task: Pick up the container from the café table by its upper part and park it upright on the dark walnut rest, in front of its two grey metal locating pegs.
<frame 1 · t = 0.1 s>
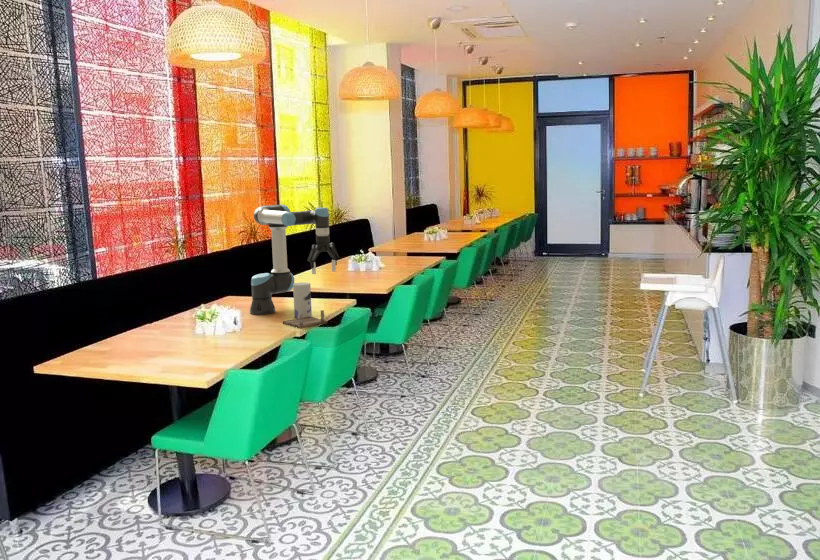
hand: (324, 272, 414), 28 cm above the table, fingers open, 13 cm apart
container: (303, 317, 431), on the table
rest: (304, 323, 413), on the table
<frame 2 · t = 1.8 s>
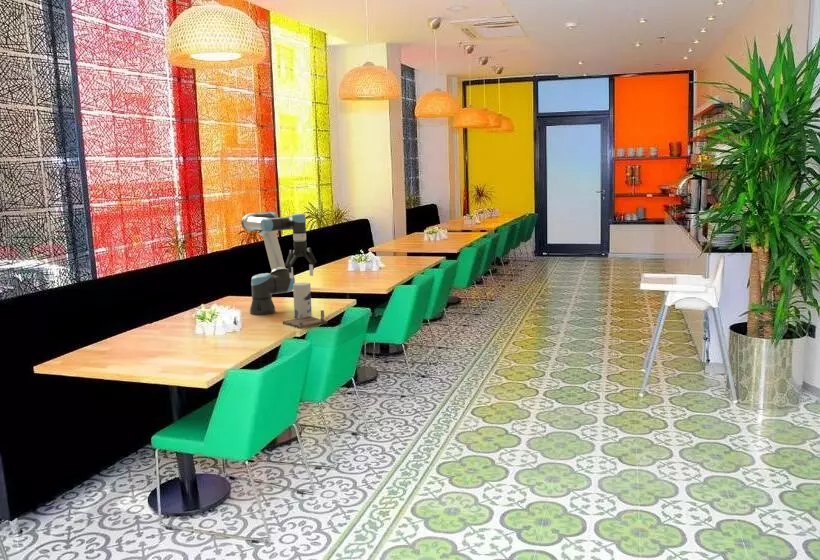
hand: (301, 276, 427), 24 cm above the table, fingers open, 13 cm apart
nothing on the table moved.
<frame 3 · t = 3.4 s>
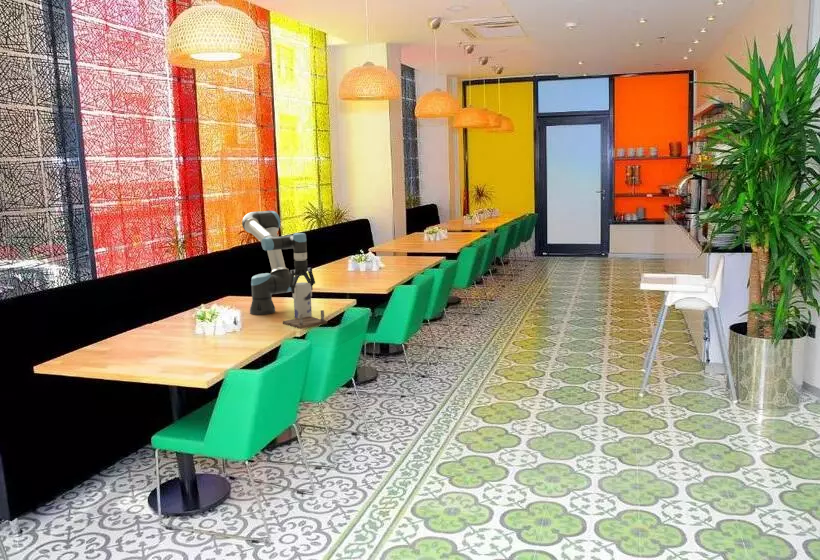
hand: (302, 297, 429), 12 cm above the table, fingers closed on container, 10 cm apart
container: (303, 317, 431), on the table, touching gripper
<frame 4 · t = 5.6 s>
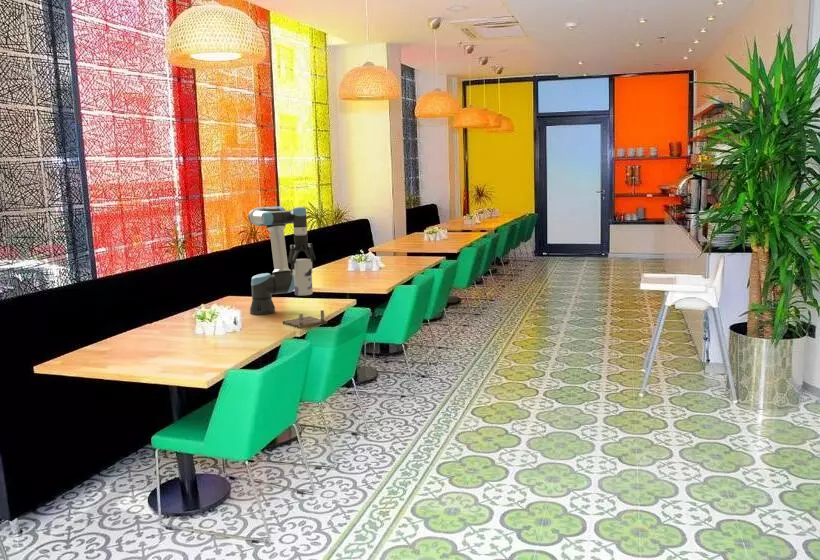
hand: (302, 273, 414), 28 cm above the table, fingers closed on container, 10 cm apart
container: (303, 294, 416), point 16 cm above the table, touching gripper
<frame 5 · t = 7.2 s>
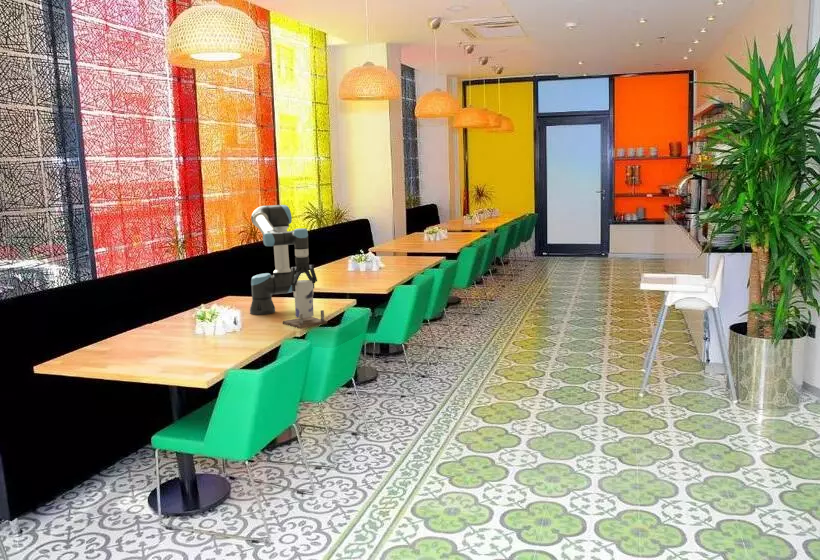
hand: (303, 295, 410), 16 cm above the table, fingers closed on container, 10 cm apart
container: (304, 316, 412), point 4 cm above the table, touching gripper
when the fingers open (14 cm above the table, at t = 8.1 s): container stays where it is, resting on rest.
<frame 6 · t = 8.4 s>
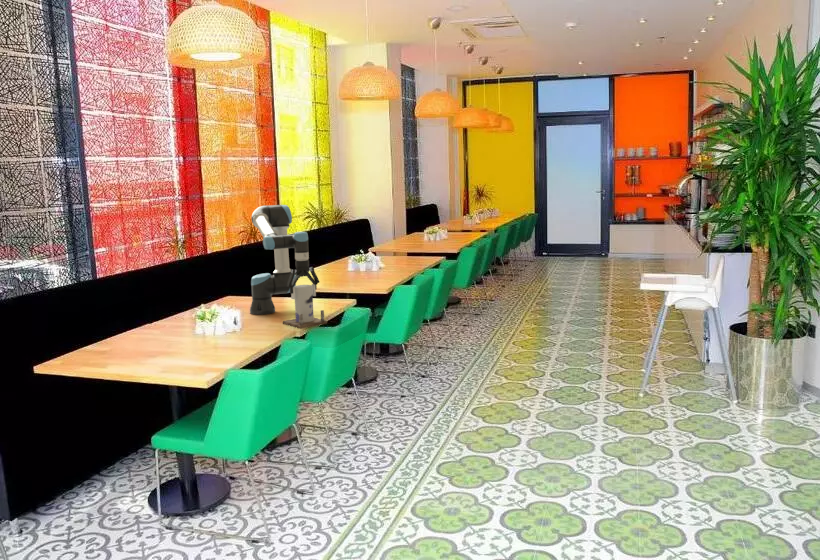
hand: (303, 297, 410), 15 cm above the table, fingers open, 13 cm apart
container: (304, 321, 413), point 1 cm above the table, touching rest
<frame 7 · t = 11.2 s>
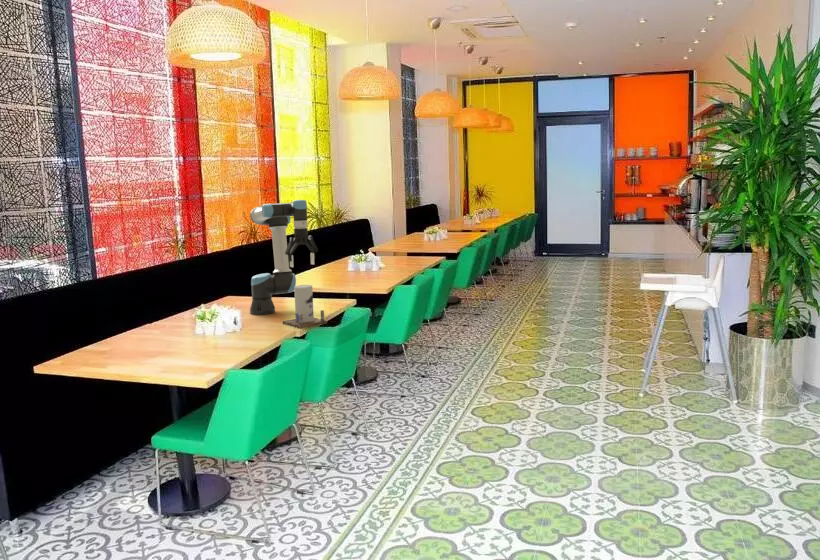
hand: (302, 265, 410), 33 cm above the table, fingers open, 13 cm apart
nothing on the table moved.
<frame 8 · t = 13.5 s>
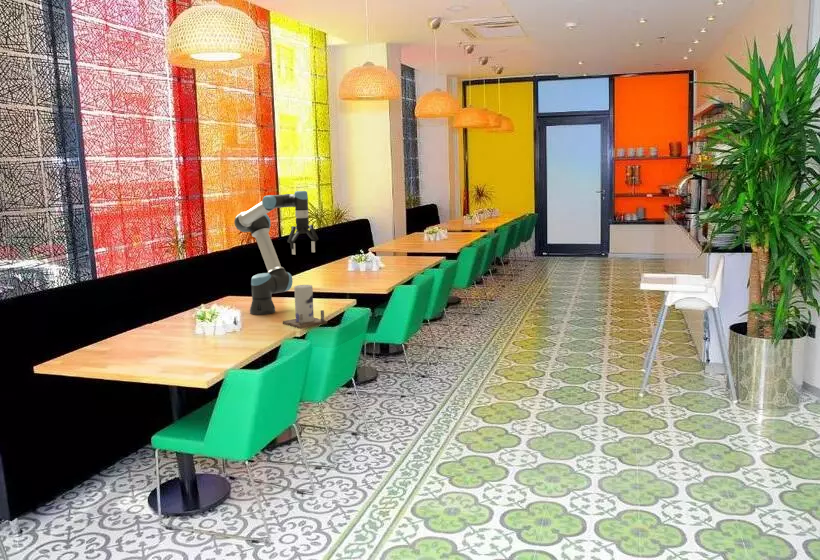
hand: (303, 253, 433), 37 cm above the table, fingers open, 13 cm apart
nothing on the table moved.
at the end: container inside the target area on the rest (0.1 cm from its centre), point 1.3 cm above the rest's base; container tilted 0°; the gripper is holding nothing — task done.
